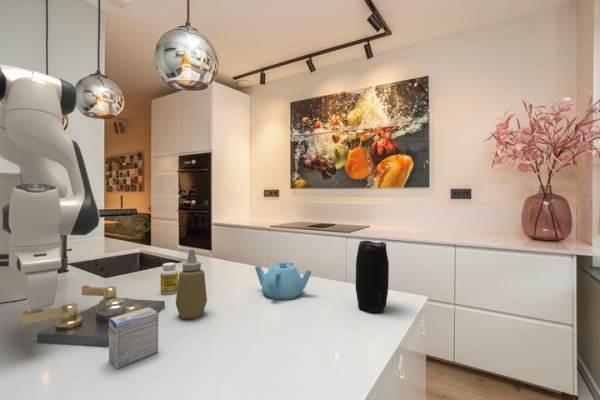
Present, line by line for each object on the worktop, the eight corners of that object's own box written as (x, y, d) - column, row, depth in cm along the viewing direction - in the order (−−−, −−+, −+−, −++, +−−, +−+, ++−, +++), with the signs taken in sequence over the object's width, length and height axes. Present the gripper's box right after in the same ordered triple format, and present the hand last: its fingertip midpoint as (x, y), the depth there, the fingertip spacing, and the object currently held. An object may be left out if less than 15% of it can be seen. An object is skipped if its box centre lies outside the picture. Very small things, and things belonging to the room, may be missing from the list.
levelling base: (36, 342, 65) (36, 316, 65) (110, 305, 87) (110, 286, 87) (108, 346, 63) (108, 320, 63) (164, 307, 85) (164, 288, 85)
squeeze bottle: (173, 323, 75) (173, 253, 75) (177, 310, 83) (177, 247, 83) (206, 319, 77) (206, 251, 77) (207, 308, 85) (207, 246, 85)
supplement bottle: (176, 288, 102) (176, 261, 102) (179, 293, 98) (179, 264, 98) (159, 291, 99) (159, 263, 99) (161, 296, 95) (161, 266, 95)
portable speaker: (353, 302, 91) (354, 240, 91) (384, 303, 90) (385, 240, 90) (357, 313, 82) (358, 244, 82) (391, 315, 82) (392, 245, 82)
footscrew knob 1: (81, 317, 73) (81, 299, 72) (83, 324, 69) (83, 304, 69) (23, 330, 66) (23, 309, 66) (21, 338, 62) (21, 316, 62)
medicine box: (149, 345, 64) (149, 306, 64) (158, 352, 61) (159, 311, 61) (108, 361, 58) (108, 317, 58) (116, 370, 55) (116, 324, 55)
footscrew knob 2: (124, 301, 84) (124, 284, 84) (111, 307, 79) (111, 290, 79) (90, 299, 85) (90, 283, 85) (75, 305, 80) (75, 288, 80)
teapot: (253, 290, 102) (253, 259, 102) (291, 284, 109) (292, 255, 109) (269, 304, 89) (270, 269, 89) (312, 297, 96) (313, 264, 96)
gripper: (12, 250, 71) (13, 307, 71) (21, 266, 57) (22, 337, 57) (47, 247, 75) (47, 300, 76) (63, 261, 62) (63, 326, 62)
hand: (36, 316), depth 66 cm, fingers closed
